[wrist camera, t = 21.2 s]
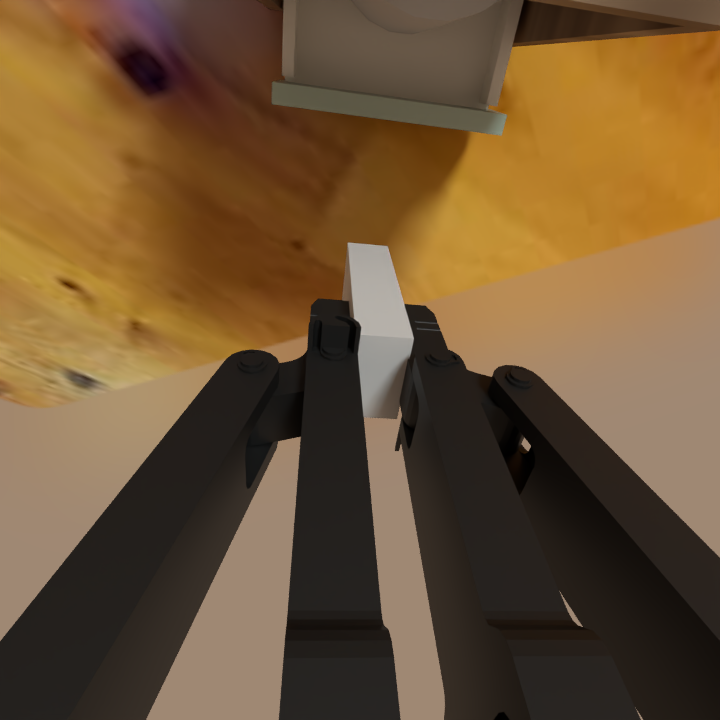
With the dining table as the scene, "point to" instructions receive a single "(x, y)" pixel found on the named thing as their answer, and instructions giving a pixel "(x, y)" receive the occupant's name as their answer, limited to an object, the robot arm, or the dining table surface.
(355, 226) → the dining table surface
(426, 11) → the can
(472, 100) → the tray
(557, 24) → the housing
